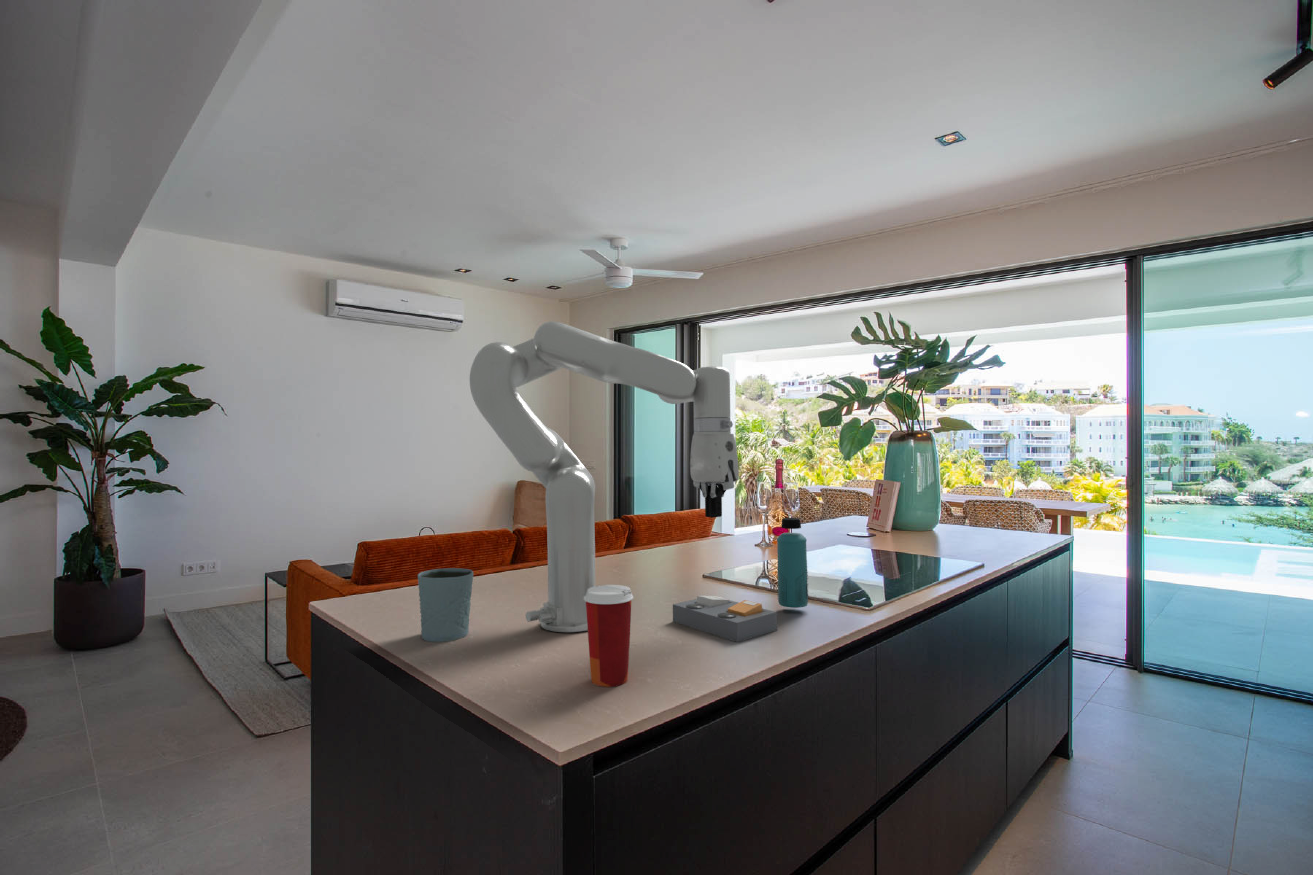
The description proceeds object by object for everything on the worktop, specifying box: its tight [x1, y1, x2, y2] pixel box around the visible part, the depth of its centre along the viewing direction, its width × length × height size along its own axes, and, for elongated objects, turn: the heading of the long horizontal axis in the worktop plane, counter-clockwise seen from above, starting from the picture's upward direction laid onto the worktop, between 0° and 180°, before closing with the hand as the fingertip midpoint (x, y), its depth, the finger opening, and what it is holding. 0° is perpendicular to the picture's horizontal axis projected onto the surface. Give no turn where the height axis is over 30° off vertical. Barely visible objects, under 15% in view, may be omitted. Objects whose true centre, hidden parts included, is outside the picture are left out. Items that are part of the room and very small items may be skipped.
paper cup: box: [584, 584, 634, 688], centre depth 100 cm, size 8×8×14 cm
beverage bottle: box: [776, 517, 809, 609], centre depth 139 cm, size 6×7×20 cm
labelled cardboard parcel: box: [728, 599, 763, 617], centre depth 126 cm, size 5×4×2 cm
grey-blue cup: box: [417, 567, 475, 643], centre depth 124 cm, size 10×10×12 cm
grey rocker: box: [696, 595, 730, 608], centre depth 133 cm, size 5×4×2 cm
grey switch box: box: [672, 598, 778, 643], centre depth 128 cm, size 11×18×4 cm, turn 39°
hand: (713, 516), depth 132 cm, fingers closed
